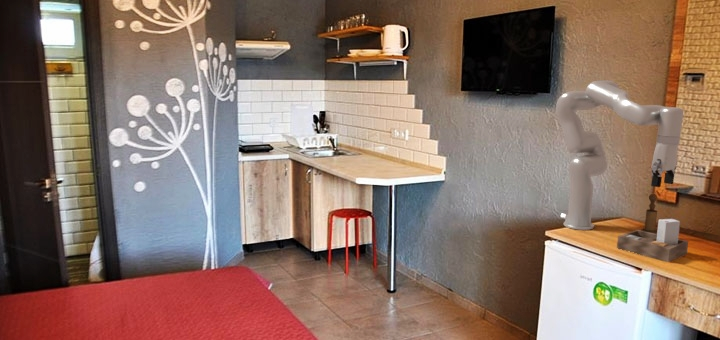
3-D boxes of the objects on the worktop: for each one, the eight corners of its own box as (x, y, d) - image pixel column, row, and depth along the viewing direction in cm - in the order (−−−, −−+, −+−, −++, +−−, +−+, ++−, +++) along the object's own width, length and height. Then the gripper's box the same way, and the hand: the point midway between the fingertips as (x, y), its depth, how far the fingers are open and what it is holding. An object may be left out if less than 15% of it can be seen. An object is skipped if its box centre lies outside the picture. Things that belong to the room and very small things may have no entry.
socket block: (616, 248, 209) (618, 235, 208) (636, 241, 218) (637, 228, 217) (668, 262, 194) (669, 247, 193) (686, 254, 203) (688, 240, 202)
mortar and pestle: (660, 239, 221) (664, 196, 218) (643, 238, 222) (647, 195, 219) (654, 234, 227) (659, 192, 224) (638, 233, 229) (642, 192, 226)
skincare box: (668, 248, 206) (672, 218, 204) (677, 252, 201) (681, 221, 199) (654, 249, 205) (657, 218, 202) (663, 253, 200) (666, 222, 198)
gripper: (668, 137, 209) (663, 180, 213) (646, 140, 200) (640, 185, 203) (689, 140, 204) (683, 184, 207) (667, 143, 194) (661, 189, 197)
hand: (662, 185), depth 205 cm, fingers open, 9 cm apart
